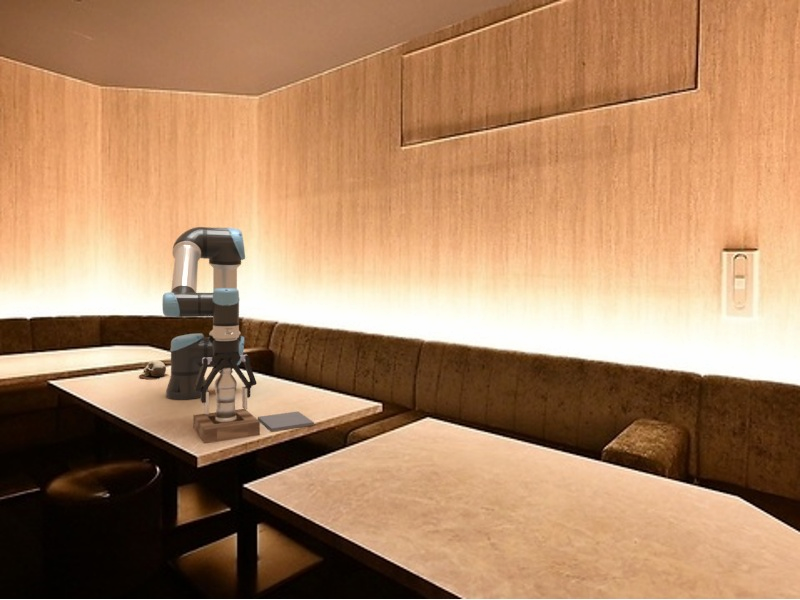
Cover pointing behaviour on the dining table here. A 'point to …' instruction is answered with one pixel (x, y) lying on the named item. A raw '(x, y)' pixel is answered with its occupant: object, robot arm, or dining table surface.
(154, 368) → the skull
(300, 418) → the charcoal mat
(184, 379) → the robot arm
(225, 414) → the plastic bottle
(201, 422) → the walnut block
